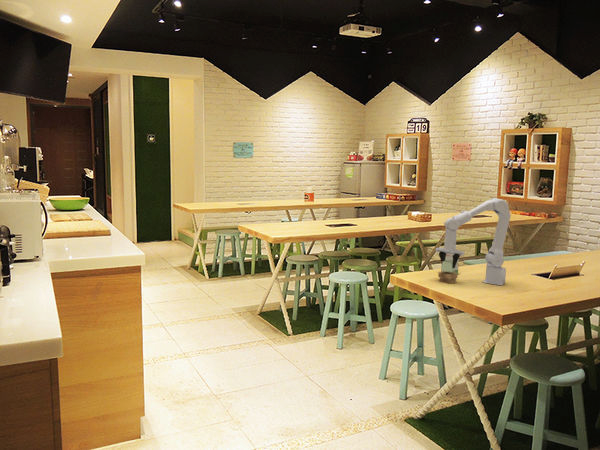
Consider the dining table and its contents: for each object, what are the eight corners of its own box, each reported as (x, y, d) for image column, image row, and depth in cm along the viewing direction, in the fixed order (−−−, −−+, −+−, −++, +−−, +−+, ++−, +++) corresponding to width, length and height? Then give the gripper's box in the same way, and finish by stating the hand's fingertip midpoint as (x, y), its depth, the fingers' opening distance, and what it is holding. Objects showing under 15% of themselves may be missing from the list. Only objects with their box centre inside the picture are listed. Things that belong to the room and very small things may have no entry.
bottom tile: (455, 281, 268) (455, 277, 268) (453, 284, 262) (453, 279, 262) (442, 279, 271) (442, 275, 271) (439, 282, 265) (439, 278, 265)
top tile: (457, 277, 266) (457, 273, 266) (450, 279, 261) (450, 275, 261) (445, 275, 271) (445, 270, 271) (438, 277, 266) (438, 272, 266)
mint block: (454, 270, 266) (455, 261, 265) (451, 272, 262) (451, 262, 261) (445, 269, 269) (446, 259, 268) (441, 270, 265) (442, 261, 264)
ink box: (442, 273, 283) (443, 253, 281) (440, 271, 288) (442, 251, 286) (458, 274, 282) (459, 253, 280) (456, 272, 287) (457, 252, 285)
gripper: (433, 240, 264) (432, 266, 266) (461, 244, 256) (459, 270, 258) (439, 239, 270) (437, 264, 272) (466, 242, 262) (464, 268, 263)
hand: (448, 267), depth 265 cm, fingers closed on mint block, 5 cm apart
